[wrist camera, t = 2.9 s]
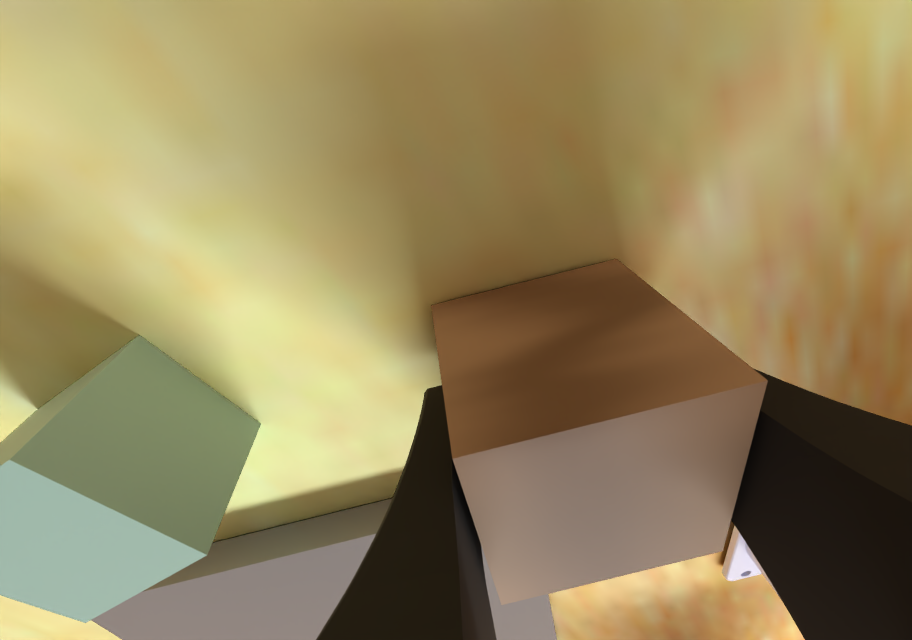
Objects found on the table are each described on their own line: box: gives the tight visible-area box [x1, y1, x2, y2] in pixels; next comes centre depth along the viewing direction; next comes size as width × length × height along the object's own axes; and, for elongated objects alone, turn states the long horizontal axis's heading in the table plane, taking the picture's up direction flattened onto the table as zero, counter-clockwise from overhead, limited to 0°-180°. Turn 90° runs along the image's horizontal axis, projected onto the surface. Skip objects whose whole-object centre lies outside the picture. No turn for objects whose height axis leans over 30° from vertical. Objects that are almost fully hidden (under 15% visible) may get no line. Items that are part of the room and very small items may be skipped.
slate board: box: [92, 498, 557, 640], centre depth 18 cm, size 16×16×1 cm
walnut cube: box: [431, 259, 768, 605], centre depth 10 cm, size 5×5×5 cm
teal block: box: [0, 335, 261, 623], centre depth 10 cm, size 4×4×4 cm
